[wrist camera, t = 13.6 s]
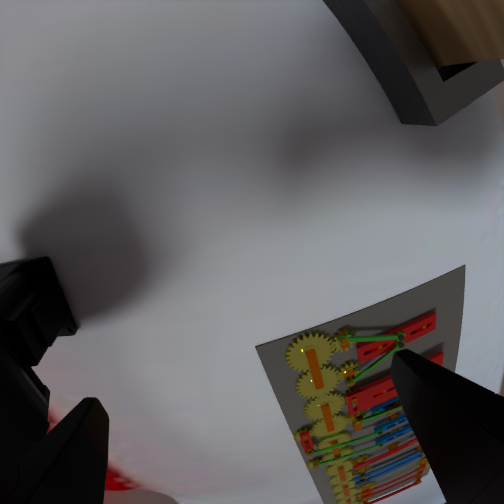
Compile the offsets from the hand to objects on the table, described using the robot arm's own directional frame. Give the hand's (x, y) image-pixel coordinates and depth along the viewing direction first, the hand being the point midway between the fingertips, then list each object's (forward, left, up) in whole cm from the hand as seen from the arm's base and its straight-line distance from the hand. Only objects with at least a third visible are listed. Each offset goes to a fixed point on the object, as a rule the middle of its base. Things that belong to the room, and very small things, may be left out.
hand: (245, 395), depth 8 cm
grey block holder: (+14, +13, -13) cm, 23 cm away
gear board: (+14, -29, -14) cm, 35 cm away
